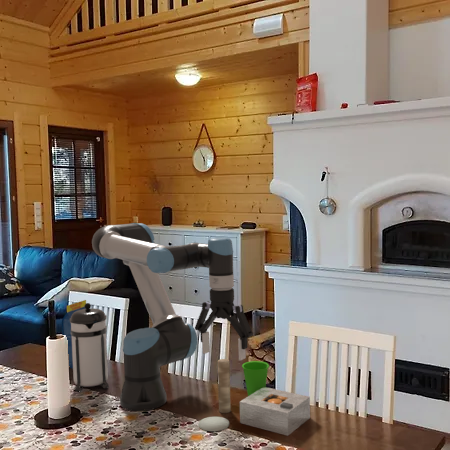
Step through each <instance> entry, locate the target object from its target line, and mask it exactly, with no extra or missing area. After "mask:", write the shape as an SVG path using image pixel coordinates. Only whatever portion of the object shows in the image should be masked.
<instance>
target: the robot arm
mask: <svg viewBox="0 0 450 450" xmlns="http://www.w3.org/2000/svg"><path fill="white" fill-rule="evenodd" d="M91 244H92V245H91V246H92V250H93V251H94V252H95V254H96V255H98V256H99V257H100V258H104V259H108V260H113V259H119V260H122V263H123V265H126V266H128V267H129V269H130V271H131V274H132V276H133V279H134V281H135V283H136V285H137V286H136V287H137V288H138V291H139V294H140V296H141V298H142V301H143V302H144V305H145V308H146V310H147V312H148V314H149V318H150V320H151V322H152V326H151V327H144V328H138V329H134V330H132V331H130V332H128V333H126V335H125V336H124V338H123V344H122V352H123V369H124V370H123V371H124V372H123V373H124V381H123V386H122V389H121V393H120V397H119V403H120V406H121V407H122V408H123V409H125V410H128V411H137V412H142V411H149V410H154V409H157V408H160V407H162V406H164V405H165V404H166V402H167V392H166V390H165V388H164V384H163V381H162V378H161V367H162V366H166V365H170V364H173V363H176V362H179V361H184V360H185V359H188V358H191V357H192V356H193V355H194V354H195V352H196V351H197V348H198V347H197V346H198V335H197V331H199V333H200V334H199V335H200V342H201V343H202V354H203V355H206V354H208V353H210V352H211V349H210V347H211V346H210V331H209V329H210V327H211V325H212V324H213V323H214V321H215V320H216V319H223V320H227V322H229V323H230V325H231V326H232V327H233V329H234V330H235V332H236V334H237V335H238V337H239V338H238V339H237V341H238V342H237V343H238V344H237V345H238V347H237V348H238V361H243V360H244V359H246V349H248V339H249V338H251V337H252V336H253V335H254V333H253V331H252V330H253V329H252V327H251V326H250V323H249V322H248V319H247V316H246V314H245V312H244V305H243V304H239V305H235V304H234V300H235V289H234V286H235V280H234V249H233V241H232V239H231V238H229V237H212V238H209V239H208V241H207V243H200V242H196V241H194V242H186V243H185V244H182V245H181V244H179V245H173V246H167V245H163V244H162V245H161V244H157V243H155V235H154V233H153V231H152V230H151V228H150V227H149V225H146V224H144V223H142V222H141V223H136V222H131V223H124V224H109V225H105V226H102V227H100V228H98V229H97V230H96V231H95V233H94V234H93V236H92V239H91ZM194 268H207V269H208V275H209V276H208V278H209V280H208V281H209V288H210V289H209V300H207V301H204V302H202V304H201V310H200V313H199V316H198V319H197V320H196V323H195V326H193V325H192V324H190V323H187V322H184V319H183V317H182V316H181V315H179V314H176V311H175V310H174V309H175V308H174V307H173V305H172V302H171V300H170V298H169V295H168V293H167V291H166V288H165V286H164V283H163V282H162V279H161V276H160V274H166V273H168V272H175V271H180V270H186V269H187V270H188V269H194ZM210 309H211V312H209V311H210ZM209 313H210V314H209ZM208 314H209V315H208ZM207 316H208V317H207Z"/></svg>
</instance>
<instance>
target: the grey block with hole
mask: <svg viewBox="0 0 450 450" xmlns="http://www.w3.org/2000/svg"><path fill="white" fill-rule="evenodd" d="M269 399H280V400H282V403H281V404H279V405H278V404H274V403H270V402H268V400H269ZM309 419H311V396H308V395H303V394H300V393H299V394H298V393H293V392H291V391H290V392H289V391H285V390H282V389H281V390H280V389H276V388H271V387H267V386H266V387H263V388H261V389H259V390H258V391H256V392H254V393H253V394H251V395H250V396H248V395H247V396H246V397H245V398H243V399H241V400H240V401H239V423H240V424H243V425H246V426H250V427H254V428H258V429H262V430H266V431H268V432H272V433H276V434H280V435H284V436H287V437H289V435H291V434H292V433H294V431H296V429H298V428H300V427H301V426H302V425H303V424H305V423H306V422H307V421H308V420H309Z"/></svg>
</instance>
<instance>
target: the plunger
mask: <svg viewBox="0 0 450 450" xmlns="http://www.w3.org/2000/svg"><path fill="white" fill-rule="evenodd" d="M268 402H270V403H274V404H278V405H279V404H281V403H282V400H280V399H269V400H268Z"/></svg>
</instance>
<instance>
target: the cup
mask: <svg viewBox="0 0 450 450" xmlns="http://www.w3.org/2000/svg"><path fill="white" fill-rule="evenodd" d="M269 367H270V365H269V363H268V362H266V361H260V360H251V361H246V362H244V363H243V364H242V365H241V369H243V375H244V380H245V386H246V391H247V392H246V393H247V397H248V396H250V395H251V394H253V393H254V392H256V391H258V390H259V389H261V388H263V387H267V378H268V372H269V371H268V370H269Z"/></svg>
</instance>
